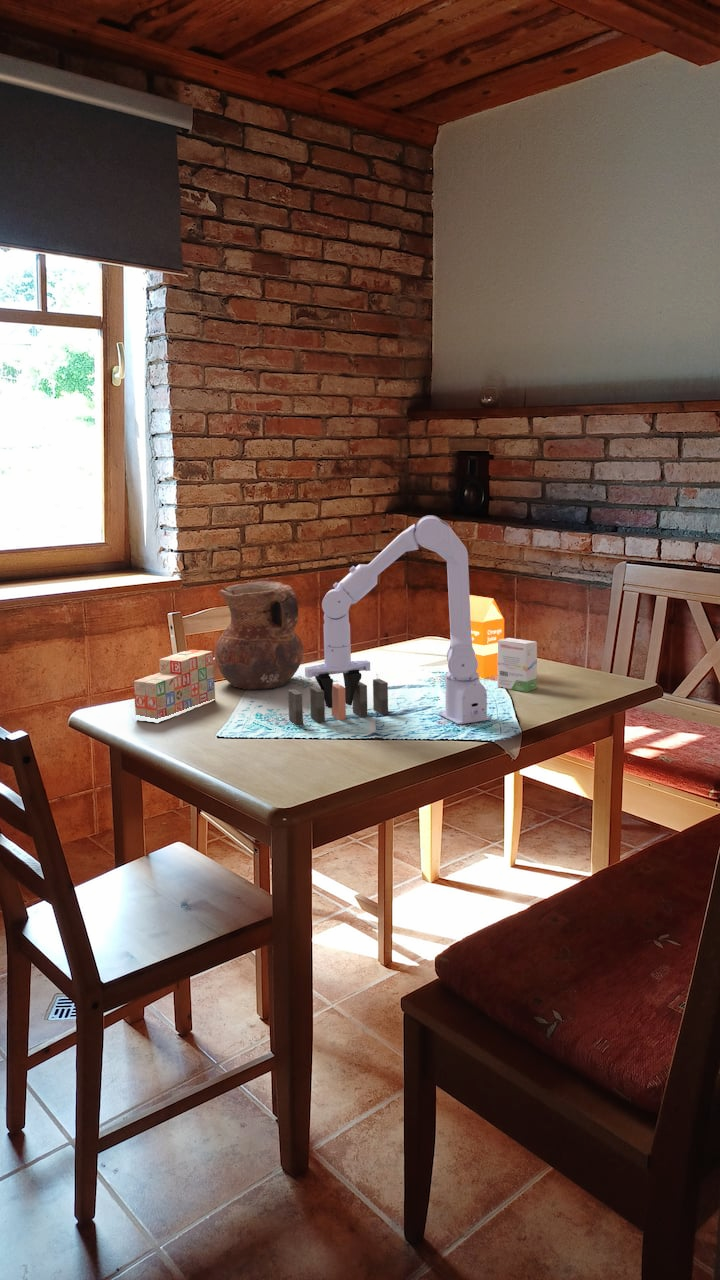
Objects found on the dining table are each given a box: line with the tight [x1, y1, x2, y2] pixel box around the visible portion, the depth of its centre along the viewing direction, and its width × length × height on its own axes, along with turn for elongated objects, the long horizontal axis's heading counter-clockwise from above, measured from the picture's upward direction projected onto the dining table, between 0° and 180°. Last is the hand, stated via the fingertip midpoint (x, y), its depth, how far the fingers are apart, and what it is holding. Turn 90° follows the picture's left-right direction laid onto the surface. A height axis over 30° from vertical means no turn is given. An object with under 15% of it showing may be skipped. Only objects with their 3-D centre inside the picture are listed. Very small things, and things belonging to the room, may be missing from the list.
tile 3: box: [309, 686, 326, 724], centre depth 212 cm, size 4×2×7 cm, turn 23°
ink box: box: [497, 637, 538, 693], centre depth 235 cm, size 8×5×12 cm, turn 47°
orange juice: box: [470, 594, 505, 679], centre depth 250 cm, size 8×9×20 cm
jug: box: [213, 580, 304, 690], centre depth 244 cm, size 22×21×25 cm
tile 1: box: [372, 678, 389, 715], centre depth 217 cm, size 4×2×7 cm, turn 23°
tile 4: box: [287, 688, 304, 726], centre depth 210 cm, size 4×2×7 cm, turn 23°
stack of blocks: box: [133, 649, 216, 719], centre depth 221 cm, size 21×6×12 cm, turn 153°
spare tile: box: [330, 683, 347, 721], centre depth 214 cm, size 4×2×7 cm, turn 23°
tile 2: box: [352, 681, 368, 718], centre depth 215 cm, size 4×2×7 cm, turn 23°
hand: (338, 705), depth 214 cm, fingers open, 4 cm apart
